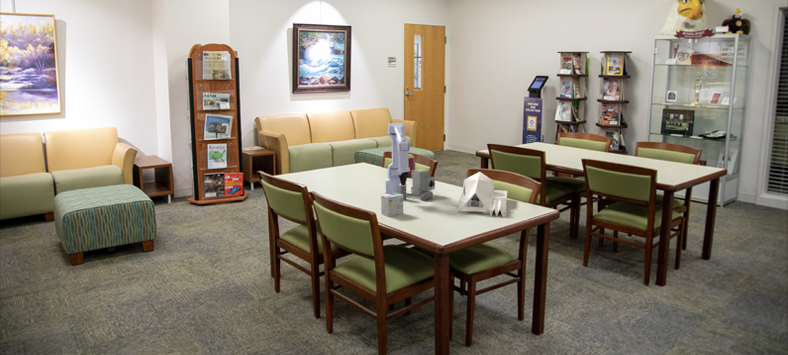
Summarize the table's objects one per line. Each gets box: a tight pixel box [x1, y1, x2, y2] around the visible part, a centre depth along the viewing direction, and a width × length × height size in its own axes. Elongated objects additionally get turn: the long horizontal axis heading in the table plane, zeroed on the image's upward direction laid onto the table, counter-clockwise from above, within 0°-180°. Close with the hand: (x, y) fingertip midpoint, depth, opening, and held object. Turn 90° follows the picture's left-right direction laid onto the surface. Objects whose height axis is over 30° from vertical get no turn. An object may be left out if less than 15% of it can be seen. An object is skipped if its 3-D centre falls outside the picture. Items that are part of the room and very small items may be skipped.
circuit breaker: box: [410, 168, 436, 196], centre depth 351 cm, size 8×14×15 cm, turn 50°
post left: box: [399, 183, 407, 201], centre depth 340 cm, size 4×4×9 cm
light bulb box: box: [380, 193, 404, 218], centre depth 308 cm, size 11×7×11 cm, turn 128°
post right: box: [419, 190, 434, 202], centre depth 341 cm, size 4×4×9 cm
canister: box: [407, 153, 416, 178], centre depth 409 cm, size 13×13×18 cm
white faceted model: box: [457, 171, 508, 218], centre depth 324 cm, size 41×27×17 cm, turn 168°
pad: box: [406, 194, 421, 200], centre depth 347 cm, size 9×5×1 cm, turn 67°
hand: (403, 185), depth 332 cm, fingers closed
